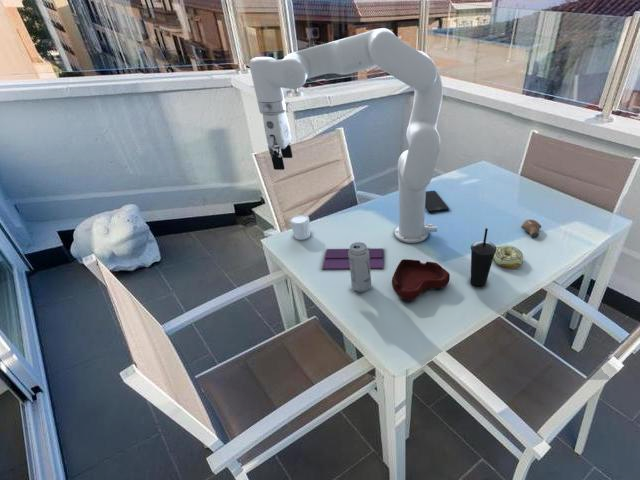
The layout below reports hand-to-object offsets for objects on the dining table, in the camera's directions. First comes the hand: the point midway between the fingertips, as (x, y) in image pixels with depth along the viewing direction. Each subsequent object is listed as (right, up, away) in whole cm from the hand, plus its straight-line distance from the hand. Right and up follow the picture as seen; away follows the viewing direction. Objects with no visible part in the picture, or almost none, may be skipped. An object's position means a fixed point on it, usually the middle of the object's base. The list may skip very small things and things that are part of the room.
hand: (283, 163), depth 123 cm
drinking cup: (+62, -38, 0) cm, 73 cm away
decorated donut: (+74, -31, +10) cm, 80 cm away
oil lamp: (+87, -19, +26) cm, 92 cm away
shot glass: (0, -21, +21) cm, 30 cm away
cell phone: (+50, -4, +44) cm, 66 cm away
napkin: (+21, -30, +10) cm, 38 cm away
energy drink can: (+25, -40, -2) cm, 47 cm away
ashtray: (+42, -39, 0) cm, 57 cm away
